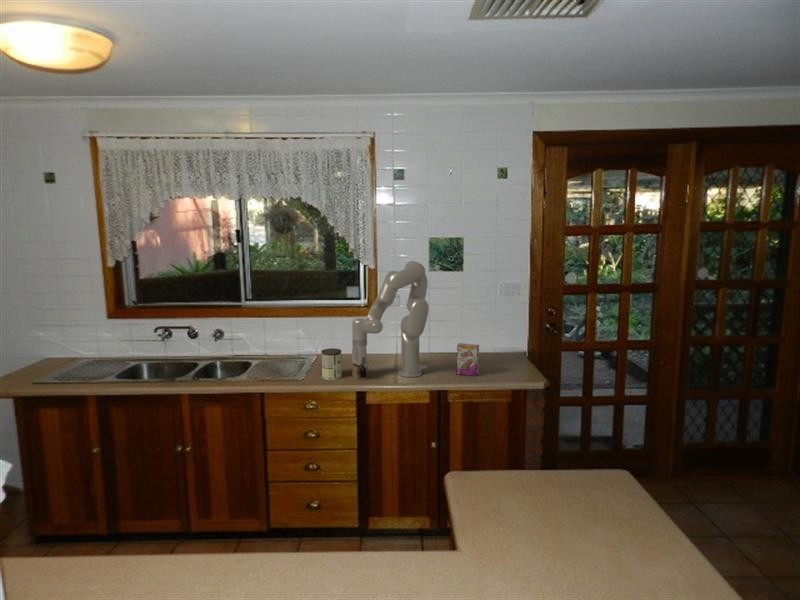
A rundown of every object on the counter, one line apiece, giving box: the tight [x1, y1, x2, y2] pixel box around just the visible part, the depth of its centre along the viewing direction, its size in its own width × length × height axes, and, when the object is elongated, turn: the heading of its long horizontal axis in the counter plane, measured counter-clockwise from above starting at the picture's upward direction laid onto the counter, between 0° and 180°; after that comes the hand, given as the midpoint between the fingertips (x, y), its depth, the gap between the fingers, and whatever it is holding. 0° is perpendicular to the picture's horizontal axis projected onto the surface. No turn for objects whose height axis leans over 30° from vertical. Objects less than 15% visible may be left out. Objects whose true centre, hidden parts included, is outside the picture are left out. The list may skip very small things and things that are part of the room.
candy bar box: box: [455, 342, 480, 377], centre depth 270 cm, size 11×5×16 cm, turn 74°
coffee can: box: [321, 347, 343, 381], centre depth 265 cm, size 10×10×14 cm
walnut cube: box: [352, 364, 369, 380], centre depth 266 cm, size 6×6×6 cm
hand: (359, 374), depth 266 cm, fingers open, 8 cm apart
